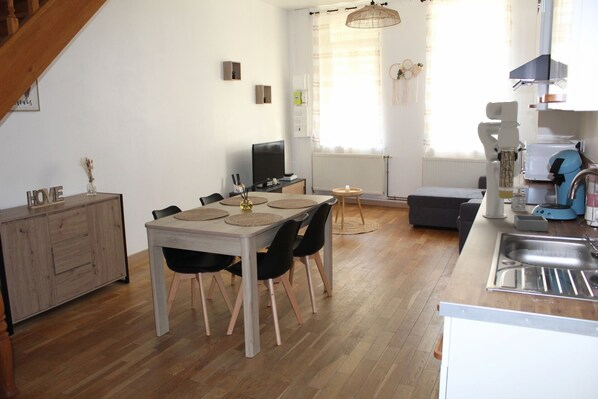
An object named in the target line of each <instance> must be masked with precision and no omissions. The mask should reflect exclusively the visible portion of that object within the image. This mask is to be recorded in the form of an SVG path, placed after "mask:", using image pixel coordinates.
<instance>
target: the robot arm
mask: <svg viewBox="0 0 598 399" xmlns="http://www.w3.org/2000/svg"><path fill="white" fill-rule="evenodd" d="M518 109H519V102H518V101H517V100H513V99H512V100H491V101H489V102H487V104H486V107H485V115H486V118H487V119H488V120H483V121H481V122H479V123H478V126H477V135H478V138H479V140H480V142H481V143H482V147H483V150H484V154H485V160H486V161H487V163H486V165H485V175H486V176H485V177H486V191H485V192H486V193H485V195H486V196H485V200H486V201H485V212H484V213H482V216H483V217H484V218H487V219H505V218H507V217H508V216H507V214H506V213H505V199H502V198H499V175H500V159H501V153H500V151H501V149H515V163H514V178H518V176H520V174H521V170H520V168H521V167H520V162H519V153H520V152H521V151H522V150H524V148H525V147H526V144H525V143H523V142H522V141H521V140H520V130H519V128H518V127H519V126H521V123H520V122H518V114H519V110H518ZM495 135H496V136H497V137H494V136H495Z"/></svg>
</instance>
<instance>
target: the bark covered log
mask: <svg viewBox="0 0 598 399" xmlns="http://www.w3.org/2000/svg"><path fill="white" fill-rule="evenodd" d="M500 153H501V159H500V175H499V198H502V199H504V200H508V199H509V200H512V199H513V193H514V188H513V186H514V179H515V177H514V163H515V149H501V151H500Z"/></svg>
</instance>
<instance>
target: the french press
mask: <svg viewBox="0 0 598 399" xmlns="http://www.w3.org/2000/svg"><path fill="white" fill-rule="evenodd" d="M520 171H523V169H522V168H521V167H520ZM520 178H521V177H519V182H518V184H515V185H514V184H513V189H516V190H520V189H522V190H523V189H525V190H526V189H527V186H525V185H523V184H520V182H521V179H520ZM526 200H527V196H526V193H523V192H513V198H511V199H507V201H509V202H510V208H509V209H508V210H509V211H513V212H527V211H528V210H527V208H526Z"/></svg>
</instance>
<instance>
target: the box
mask: <svg viewBox="0 0 598 399" xmlns="http://www.w3.org/2000/svg"><path fill="white" fill-rule="evenodd" d="M513 216H514V217H513V218H514V219H513V226H514V227H515V228H516V231H529V230H533V232H534V231H535V232H548V225H549V222H548V220H547V219H546V217H545V216H544V215H534V214H533V215H532V214H531V215H528V214H514V215H513Z"/></svg>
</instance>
